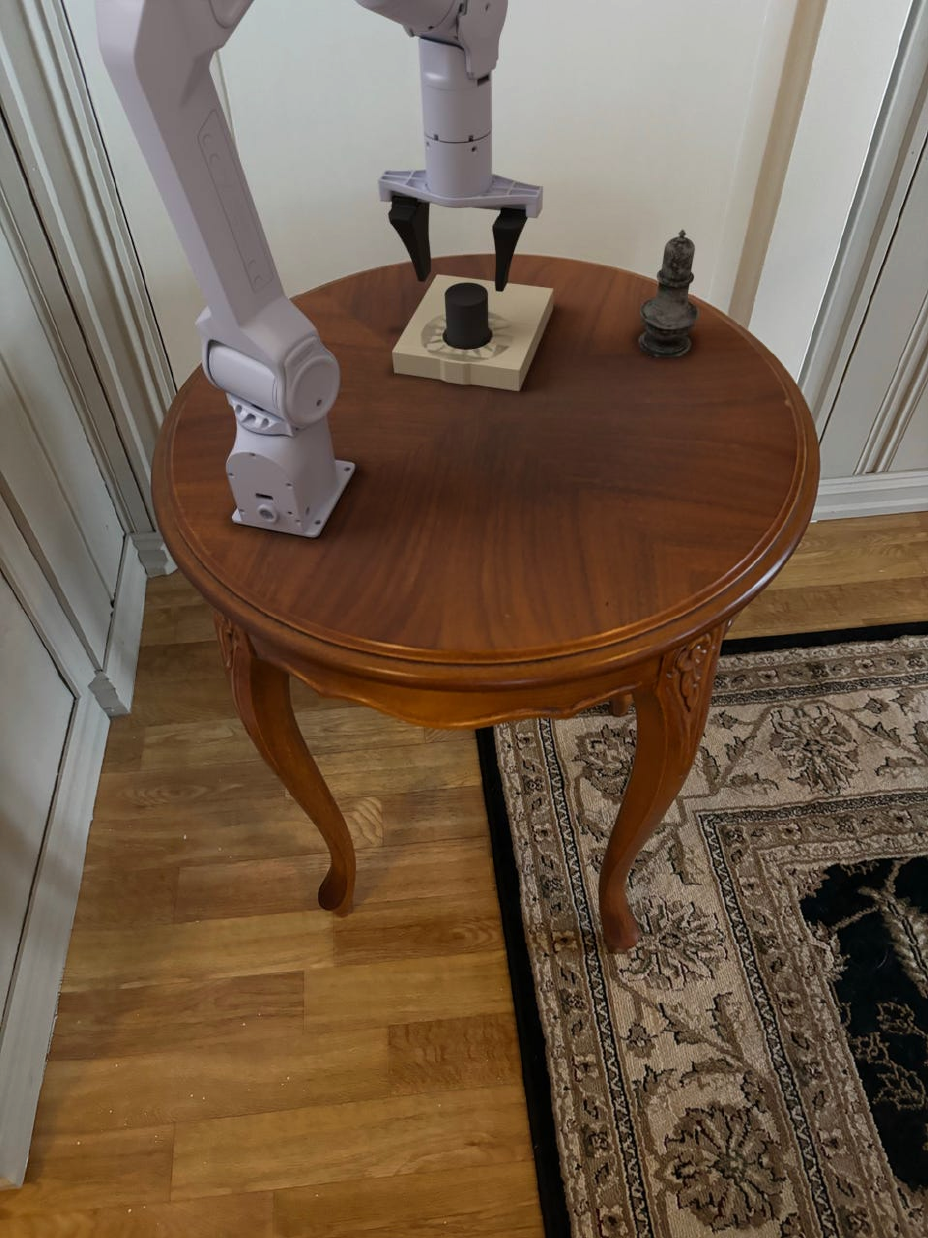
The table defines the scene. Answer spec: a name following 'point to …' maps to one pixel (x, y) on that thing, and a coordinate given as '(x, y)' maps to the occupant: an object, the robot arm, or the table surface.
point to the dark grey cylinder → (467, 316)
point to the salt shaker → (671, 303)
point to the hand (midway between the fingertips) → (462, 281)
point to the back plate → (496, 364)
